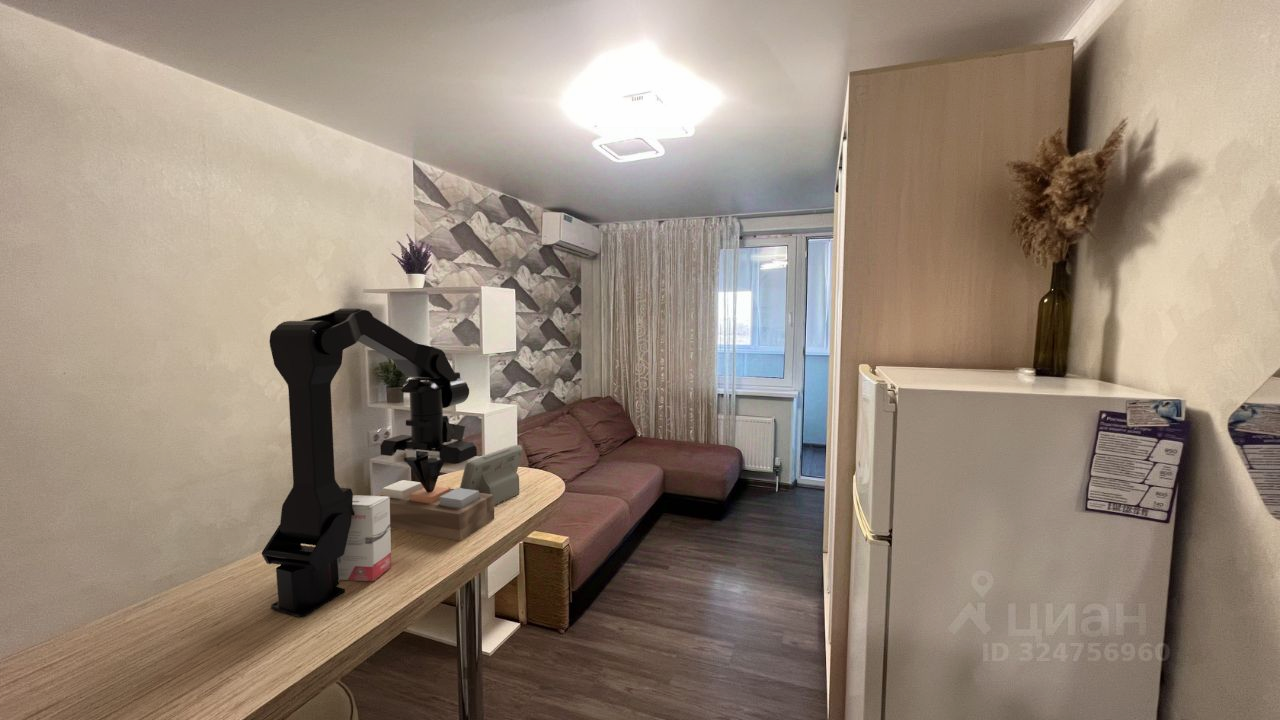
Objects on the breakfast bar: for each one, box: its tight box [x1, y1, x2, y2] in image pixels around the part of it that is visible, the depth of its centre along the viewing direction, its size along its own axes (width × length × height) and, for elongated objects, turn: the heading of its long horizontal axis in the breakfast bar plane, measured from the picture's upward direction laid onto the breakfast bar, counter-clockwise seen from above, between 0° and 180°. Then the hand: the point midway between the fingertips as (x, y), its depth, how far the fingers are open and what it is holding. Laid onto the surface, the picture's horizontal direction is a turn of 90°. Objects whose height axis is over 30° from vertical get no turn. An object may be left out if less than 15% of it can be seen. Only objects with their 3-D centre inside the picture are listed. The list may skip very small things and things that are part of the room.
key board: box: [374, 485, 495, 542], centre depth 95 cm, size 10×22×5 cm, turn 71°
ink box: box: [337, 494, 392, 582], centre depth 76 cm, size 9×5×12 cm, turn 84°
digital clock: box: [459, 444, 523, 506], centre depth 107 cm, size 16×9×11 cm, turn 140°
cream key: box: [382, 479, 422, 499], centre depth 97 cm, size 5×5×3 cm
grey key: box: [440, 487, 479, 509], centre depth 92 cm, size 5×5×3 cm
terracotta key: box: [410, 485, 450, 504], centre depth 94 cm, size 5×5×3 cm
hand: (430, 491), depth 94 cm, fingers closed, pressing on terracotta key
